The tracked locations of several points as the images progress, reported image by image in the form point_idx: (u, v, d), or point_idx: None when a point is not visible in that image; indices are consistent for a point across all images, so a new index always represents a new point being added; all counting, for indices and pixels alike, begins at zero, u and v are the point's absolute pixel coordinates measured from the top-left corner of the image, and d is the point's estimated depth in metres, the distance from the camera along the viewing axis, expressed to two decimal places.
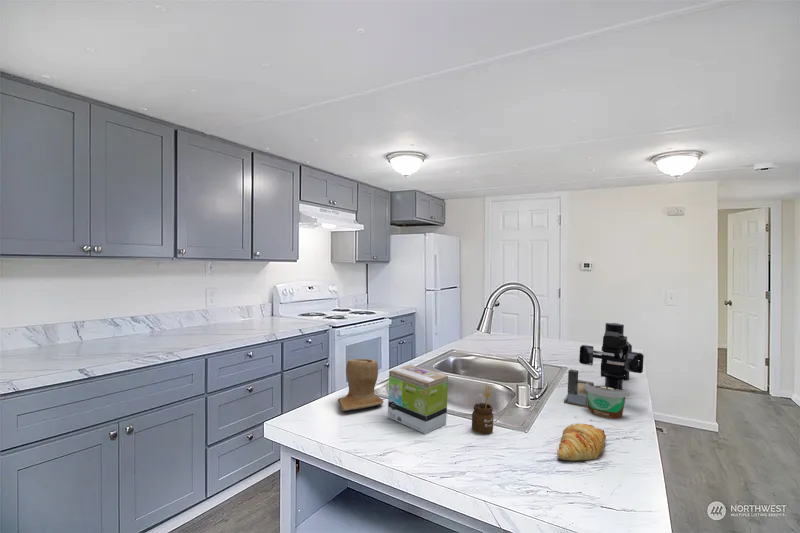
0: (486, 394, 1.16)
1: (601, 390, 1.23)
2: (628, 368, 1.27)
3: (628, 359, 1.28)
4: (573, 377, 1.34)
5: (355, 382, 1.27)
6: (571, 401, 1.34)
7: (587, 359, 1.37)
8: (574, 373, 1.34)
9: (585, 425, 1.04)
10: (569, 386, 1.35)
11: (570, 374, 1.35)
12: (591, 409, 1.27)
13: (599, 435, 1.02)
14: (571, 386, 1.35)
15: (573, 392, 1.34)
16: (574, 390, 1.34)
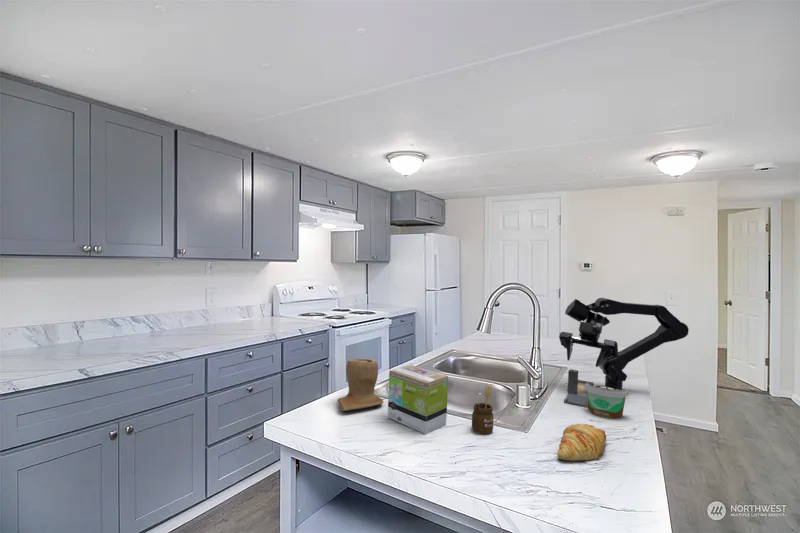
0: (486, 394, 1.16)
1: (601, 390, 1.23)
2: (601, 361, 1.39)
3: (601, 353, 1.38)
4: (573, 377, 1.34)
5: (355, 382, 1.27)
6: (571, 401, 1.34)
7: None
8: (574, 373, 1.34)
9: (586, 426, 1.04)
10: (569, 386, 1.35)
11: (570, 374, 1.35)
12: (591, 409, 1.27)
13: (599, 435, 1.02)
14: (571, 386, 1.35)
15: (573, 392, 1.34)
16: (574, 390, 1.34)
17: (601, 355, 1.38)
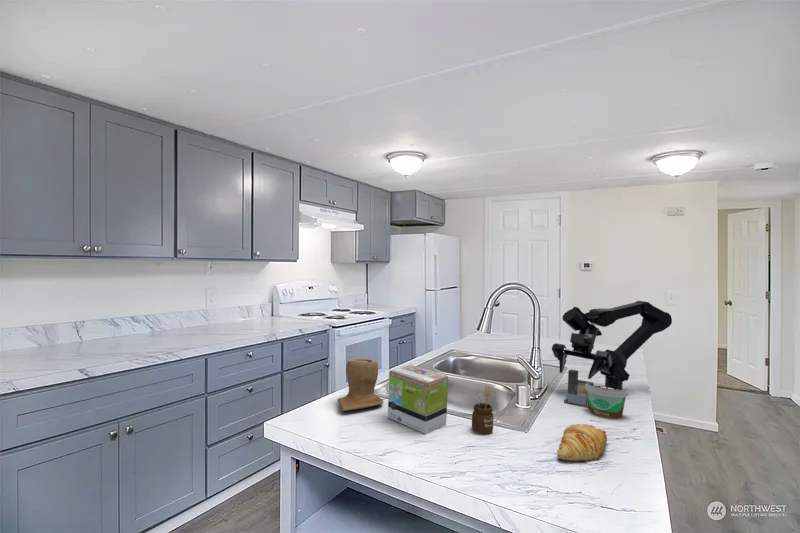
0: (486, 394, 1.16)
1: (601, 390, 1.23)
2: (594, 373, 1.35)
3: (594, 365, 1.35)
4: (573, 377, 1.34)
5: (355, 382, 1.27)
6: (571, 401, 1.34)
7: None
8: (574, 373, 1.34)
9: (586, 426, 1.04)
10: (569, 386, 1.35)
11: (570, 374, 1.35)
12: (591, 409, 1.27)
13: (600, 436, 1.02)
14: (571, 386, 1.35)
15: (573, 392, 1.34)
16: (574, 390, 1.34)
17: (593, 367, 1.35)
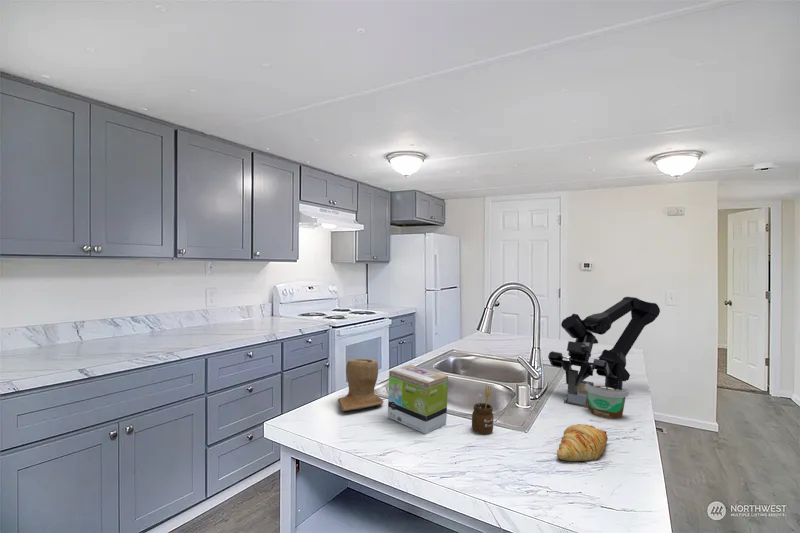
0: (486, 394, 1.16)
1: (601, 390, 1.23)
2: (581, 380, 1.35)
3: (580, 372, 1.34)
4: (573, 377, 1.34)
5: (355, 382, 1.27)
6: (571, 401, 1.34)
7: None
8: (574, 373, 1.34)
9: (586, 426, 1.04)
10: (569, 386, 1.35)
11: (570, 374, 1.35)
12: (591, 409, 1.27)
13: (600, 436, 1.02)
14: (571, 386, 1.35)
15: (573, 392, 1.34)
16: (574, 390, 1.34)
17: (580, 374, 1.34)
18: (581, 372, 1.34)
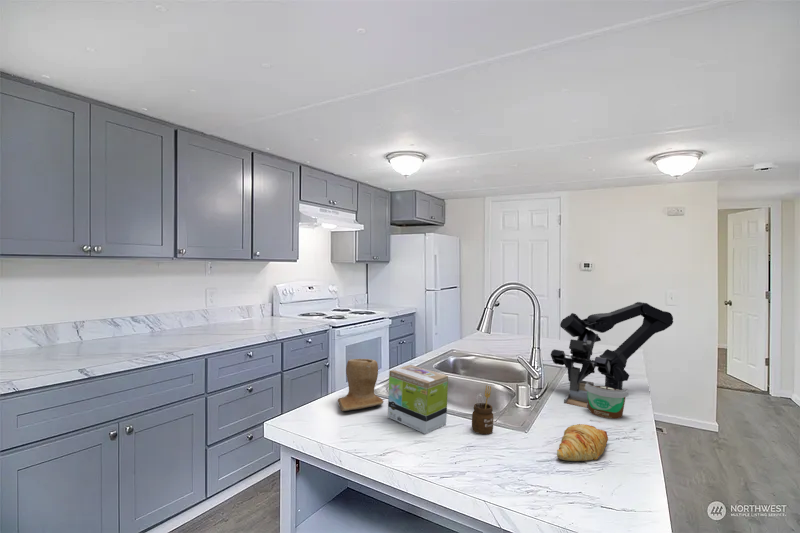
0: (486, 394, 1.16)
1: (601, 390, 1.23)
2: (583, 378, 1.38)
3: (582, 369, 1.38)
4: (575, 374, 1.37)
5: (355, 382, 1.27)
6: (573, 398, 1.38)
7: None
8: (576, 370, 1.37)
9: (586, 426, 1.04)
10: (571, 383, 1.38)
11: (572, 371, 1.38)
12: (591, 409, 1.27)
13: (600, 436, 1.02)
14: (573, 383, 1.38)
15: (575, 389, 1.37)
16: (576, 387, 1.37)
17: (582, 371, 1.37)
18: (583, 369, 1.38)
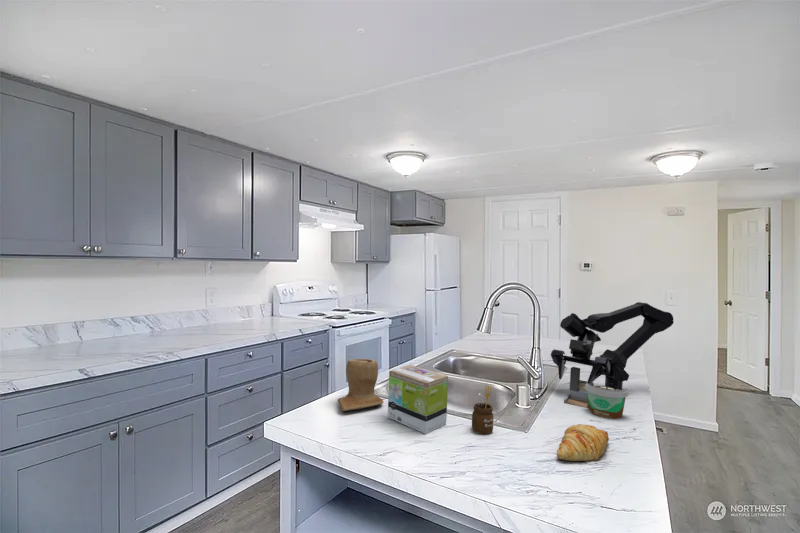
0: (486, 394, 1.16)
1: (601, 390, 1.23)
2: (593, 380, 1.36)
3: (592, 371, 1.36)
4: (575, 374, 1.37)
5: (355, 382, 1.27)
6: (573, 398, 1.38)
7: None
8: (576, 370, 1.37)
9: (587, 426, 1.04)
10: (571, 383, 1.38)
11: (572, 371, 1.38)
12: (591, 409, 1.27)
13: (600, 436, 1.02)
14: (573, 383, 1.38)
15: (575, 389, 1.37)
16: (576, 387, 1.37)
17: (592, 373, 1.35)
18: (593, 371, 1.36)
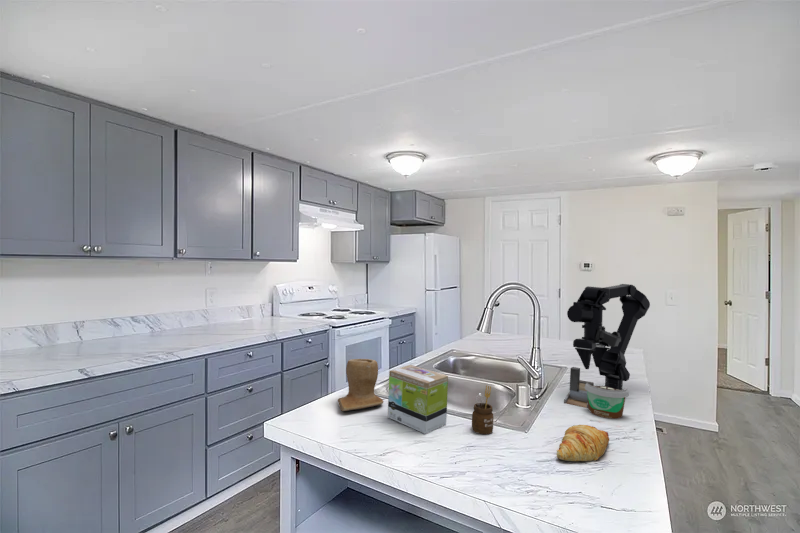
0: (486, 394, 1.16)
1: (601, 390, 1.23)
2: None
3: (602, 354, 1.44)
4: (575, 374, 1.37)
5: (355, 382, 1.27)
6: (573, 398, 1.38)
7: (581, 350, 1.37)
8: (576, 370, 1.37)
9: (587, 427, 1.04)
10: (571, 383, 1.38)
11: (572, 371, 1.38)
12: (591, 409, 1.27)
13: (601, 437, 1.01)
14: (573, 383, 1.38)
15: (575, 389, 1.37)
16: (576, 387, 1.37)
17: (602, 356, 1.44)
18: (602, 354, 1.44)
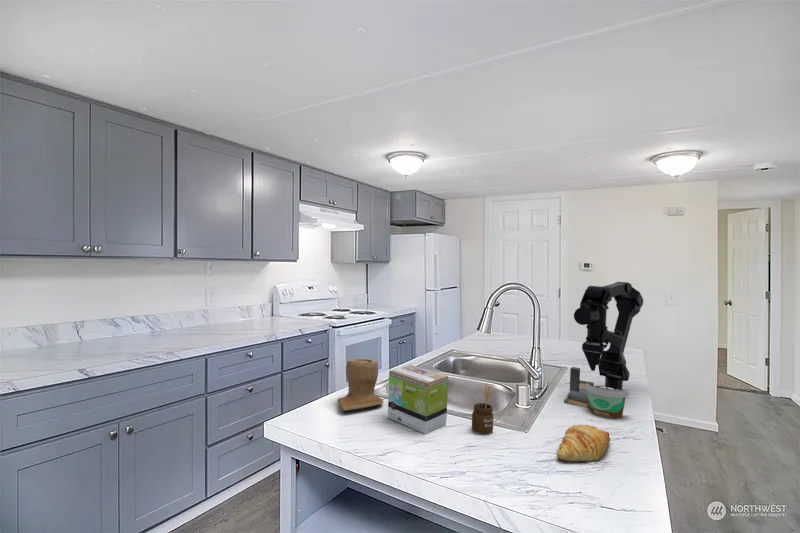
0: (486, 394, 1.16)
1: (601, 390, 1.23)
2: None
3: None
4: (575, 374, 1.37)
5: (355, 382, 1.27)
6: (573, 398, 1.38)
7: None
8: (576, 370, 1.37)
9: (587, 427, 1.03)
10: (571, 383, 1.38)
11: (572, 371, 1.38)
12: (591, 409, 1.27)
13: (601, 437, 1.01)
14: (573, 383, 1.38)
15: (575, 389, 1.37)
16: (576, 387, 1.37)
17: (601, 354, 1.44)
18: None
